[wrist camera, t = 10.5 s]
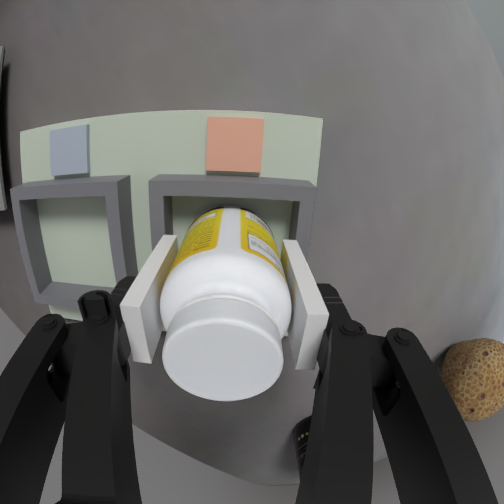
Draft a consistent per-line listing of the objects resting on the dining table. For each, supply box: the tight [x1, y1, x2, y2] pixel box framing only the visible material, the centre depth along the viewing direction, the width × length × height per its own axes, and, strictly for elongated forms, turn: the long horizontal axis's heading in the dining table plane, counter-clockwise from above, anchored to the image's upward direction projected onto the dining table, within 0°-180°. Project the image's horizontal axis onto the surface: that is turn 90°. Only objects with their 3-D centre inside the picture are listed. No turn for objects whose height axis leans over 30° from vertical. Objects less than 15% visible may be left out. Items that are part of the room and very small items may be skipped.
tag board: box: [10, 110, 323, 336], centre depth 17 cm, size 15×20×3 cm
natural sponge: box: [441, 338, 504, 422], centre depth 20 cm, size 9×9×10 cm
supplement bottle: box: [160, 204, 292, 401], centre depth 13 cm, size 5×5×10 cm
